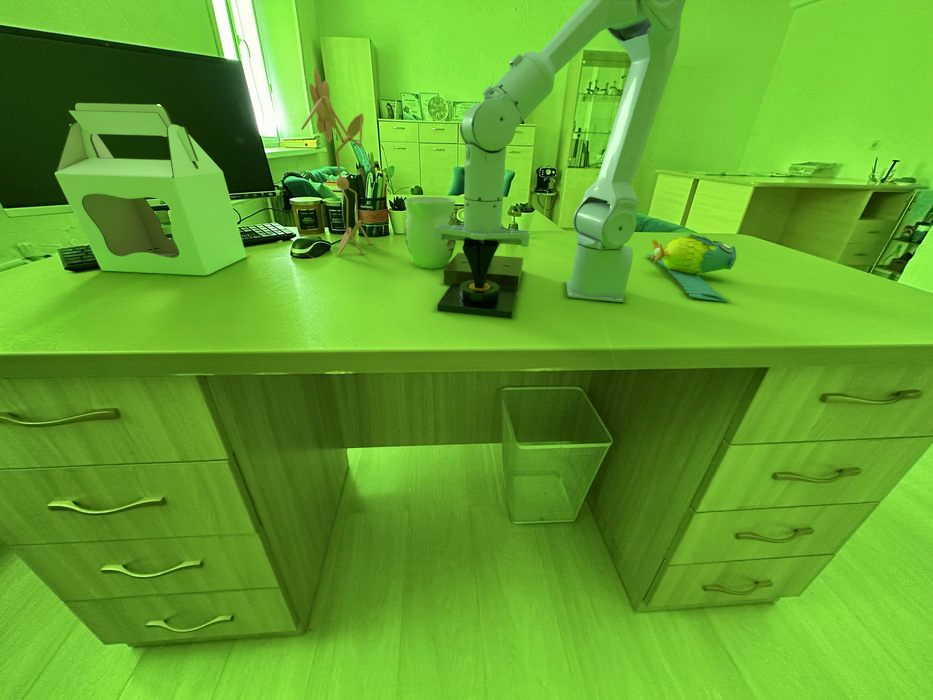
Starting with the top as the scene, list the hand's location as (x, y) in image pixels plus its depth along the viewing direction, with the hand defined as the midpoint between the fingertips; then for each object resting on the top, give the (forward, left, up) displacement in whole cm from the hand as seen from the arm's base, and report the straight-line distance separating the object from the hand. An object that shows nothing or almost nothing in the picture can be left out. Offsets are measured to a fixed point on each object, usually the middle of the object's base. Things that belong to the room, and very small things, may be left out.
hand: (479, 286), depth 61 cm
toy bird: (-40, -25, -3) cm, 47 cm away
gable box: (+65, -5, -3) cm, 65 cm away
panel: (+1, -13, -3) cm, 13 cm away
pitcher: (+14, -20, -3) cm, 25 cm away
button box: (0, 0, -3) cm, 3 cm away
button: (0, 0, -2) cm, 2 cm away
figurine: (+39, -25, -3) cm, 46 cm away
